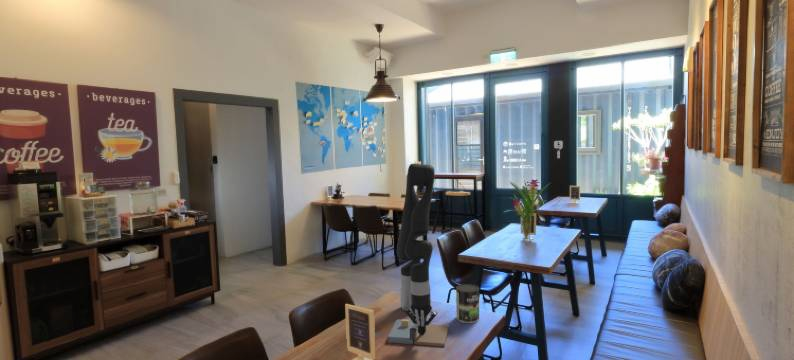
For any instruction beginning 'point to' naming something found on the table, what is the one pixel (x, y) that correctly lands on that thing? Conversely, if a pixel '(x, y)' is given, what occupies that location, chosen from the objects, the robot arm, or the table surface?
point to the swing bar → (414, 332)
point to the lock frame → (432, 336)
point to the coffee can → (467, 303)
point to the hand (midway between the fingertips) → (422, 334)
